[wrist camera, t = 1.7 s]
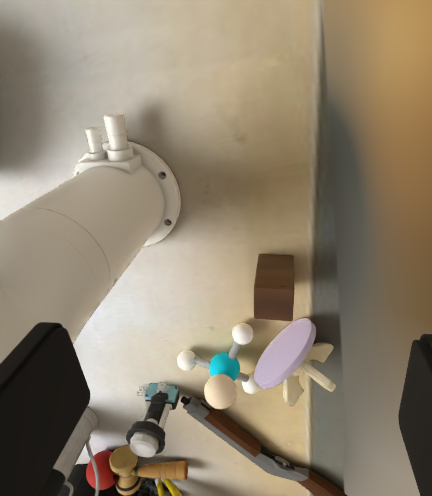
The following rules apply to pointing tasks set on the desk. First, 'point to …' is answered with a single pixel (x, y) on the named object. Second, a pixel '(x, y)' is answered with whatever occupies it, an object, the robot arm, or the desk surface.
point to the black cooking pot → (86, 485)
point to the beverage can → (150, 489)
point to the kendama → (130, 470)
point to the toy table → (293, 360)
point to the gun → (256, 449)
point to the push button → (152, 419)
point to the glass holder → (72, 456)
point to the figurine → (172, 488)
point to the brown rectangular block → (274, 287)
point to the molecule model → (223, 370)
